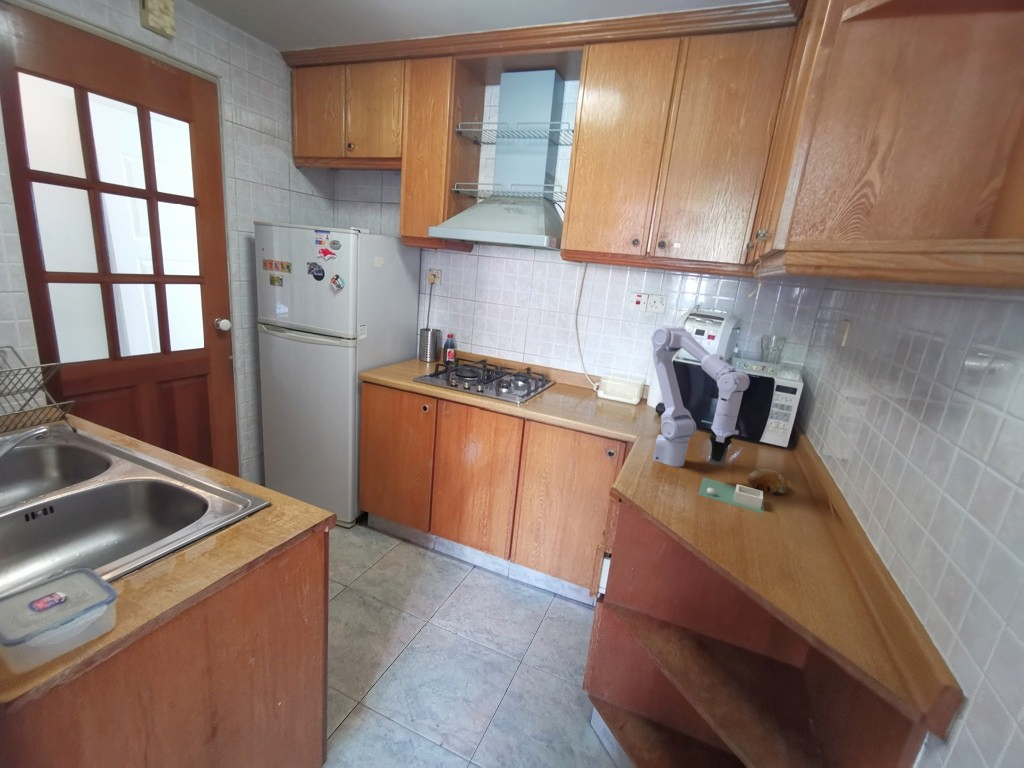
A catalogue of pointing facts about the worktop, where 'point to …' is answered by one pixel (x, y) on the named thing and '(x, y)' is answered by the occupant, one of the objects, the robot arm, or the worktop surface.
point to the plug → (720, 460)
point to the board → (723, 493)
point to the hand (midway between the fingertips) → (716, 458)
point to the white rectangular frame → (748, 496)
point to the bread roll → (767, 481)
